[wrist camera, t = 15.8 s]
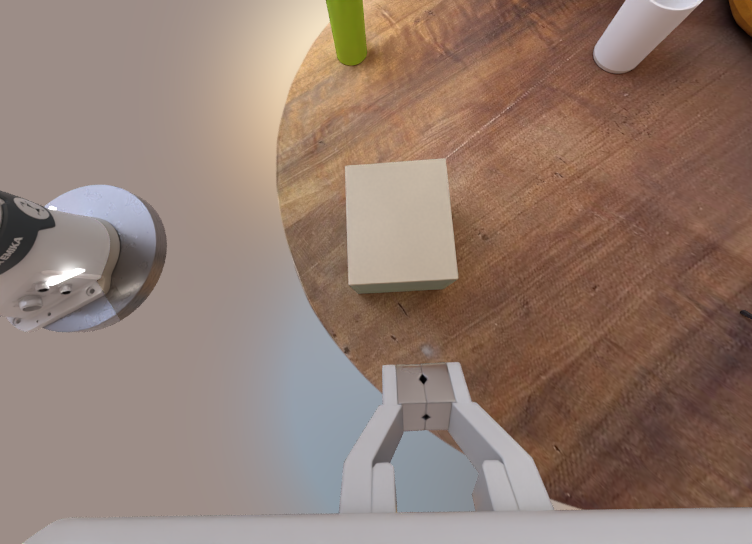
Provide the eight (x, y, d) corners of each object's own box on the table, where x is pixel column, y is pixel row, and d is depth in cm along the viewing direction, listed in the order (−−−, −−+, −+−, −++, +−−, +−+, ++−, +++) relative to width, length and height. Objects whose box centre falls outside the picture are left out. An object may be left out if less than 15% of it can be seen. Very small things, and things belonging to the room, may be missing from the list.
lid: (346, 169, 38) (345, 165, 37) (444, 161, 37) (445, 158, 36) (349, 285, 35) (348, 284, 34) (457, 279, 34) (458, 278, 33)
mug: (641, 78, 48) (708, 12, 38) (588, 73, 49) (640, 7, 39) (641, 29, 50) (705, -47, 40) (591, 24, 51) (640, -51, 41)
